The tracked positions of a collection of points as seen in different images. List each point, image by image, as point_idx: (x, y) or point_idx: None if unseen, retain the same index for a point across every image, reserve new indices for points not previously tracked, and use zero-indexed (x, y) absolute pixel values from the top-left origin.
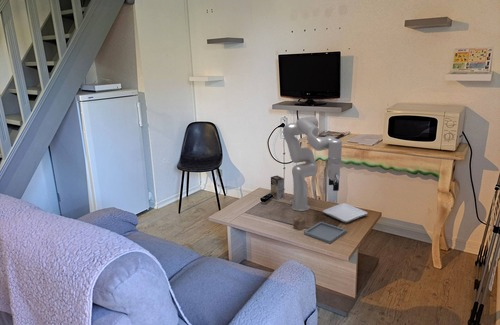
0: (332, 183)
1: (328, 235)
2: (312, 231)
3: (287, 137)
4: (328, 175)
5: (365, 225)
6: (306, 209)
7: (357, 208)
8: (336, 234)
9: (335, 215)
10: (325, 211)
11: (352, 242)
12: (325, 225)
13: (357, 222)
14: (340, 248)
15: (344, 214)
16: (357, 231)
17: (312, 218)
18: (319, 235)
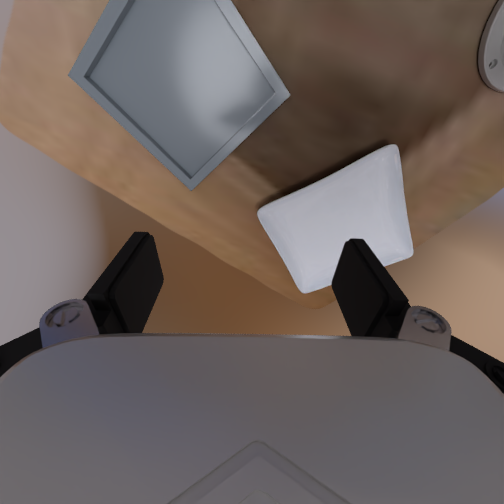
0: (341, 283)
1: (153, 94)
2: (197, 1)
3: None
4: (362, 389)
5: (242, 261)
6: (482, 56)
7: None
8: (165, 138)
9: (342, 193)
10: (389, 160)
11: (113, 182)
12: (255, 113)
13: (268, 247)
14: (47, 115)
15: (337, 228)
16: (201, 226)
17: (365, 66)
18: (149, 37)
